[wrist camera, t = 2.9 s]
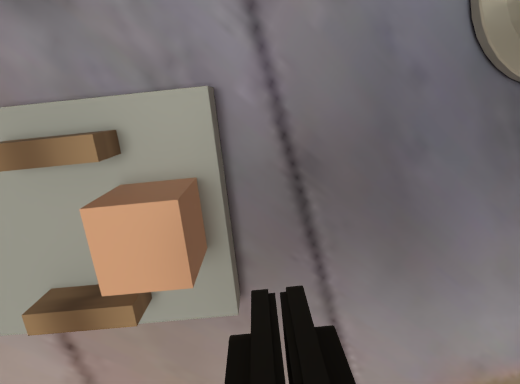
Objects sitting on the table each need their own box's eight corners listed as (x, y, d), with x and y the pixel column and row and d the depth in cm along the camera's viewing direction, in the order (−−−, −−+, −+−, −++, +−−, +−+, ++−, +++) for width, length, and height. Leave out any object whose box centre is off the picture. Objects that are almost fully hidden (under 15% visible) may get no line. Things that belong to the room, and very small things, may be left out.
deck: (213, 87, 22) (207, 85, 20) (240, 295, 26) (238, 315, 24) (-215, 132, 23) (-271, 135, 20) (-121, 327, 27) (-158, 349, 24)
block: (196, 177, 21) (177, 199, 16) (207, 248, 22) (193, 288, 18) (120, 184, 21) (79, 209, 16) (135, 254, 22) (101, 296, 18)
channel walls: (116, 129, 20) (92, 134, 17) (152, 298, 23) (137, 326, 20) (6, 140, 20) (-36, 147, 17) (56, 306, 24) (27, 335, 21)
